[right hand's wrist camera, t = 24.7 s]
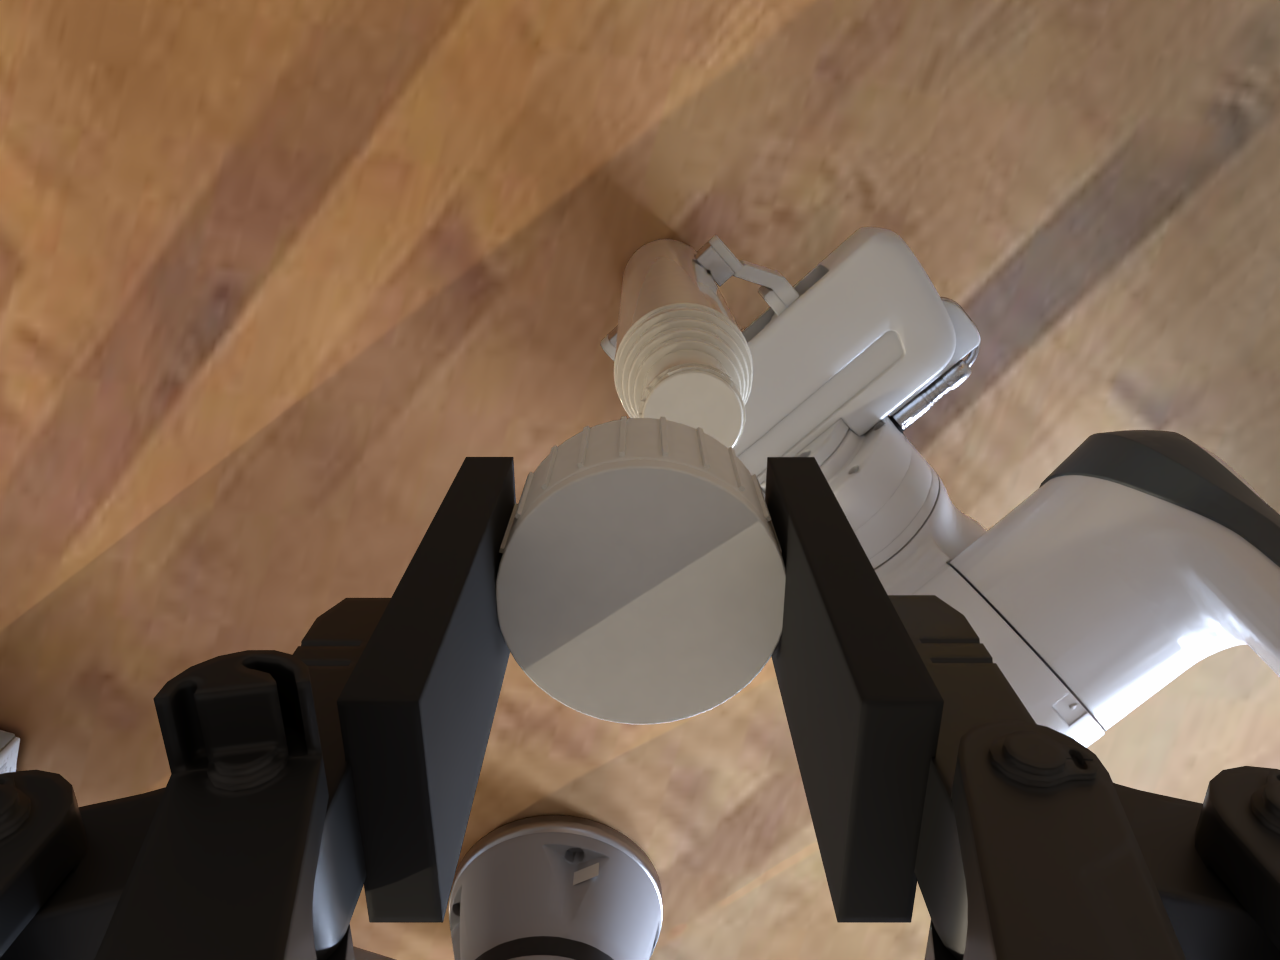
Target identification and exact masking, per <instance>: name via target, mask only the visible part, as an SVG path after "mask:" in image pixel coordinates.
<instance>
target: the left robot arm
mask: <svg viewBox="0 0 1280 960" xmlns="http://www.w3.org/2000/svg"><path fill="white" fill-rule="evenodd" d="M694 257H695V259H696V260H697V261H698V262H699V264H700V265H701V266H702V267H704V268H705V269H706V270H708V271H709V273H710V275H711V276H712V278H713V280H714V281H715V282H716V283H717V284H718V285H719V286H721V285H722V284H723V283H724V282H726V281H727V280H728V279H729V278H730V277H731V276H732V275H733V276H735V277H738V278H741V279H744V280H747V281H750V282H753V283H756V284H759V285H762V286H761V287H760V288H759V291H758V292H759V294H760V295H761V296H762V297H763V299H764V300H765V301H766V302H767V303H768V305H769V306H770V307H769V308H768V309H767V310H766V311H765V312H764V313H762V314H761V315H760V316H759V317H758V318H757V319H756V320H755V321H753V322H752V323H751V324H750V325H749V326H748V327H747V328H746V329H744V330H743V331H742V333H743V335H744V337H745V339H746V341H747V343H748V346H749V348H750V352H751V356H752V363H753V377H752V386H751V391H750V394H749V398H748V400H747V402H746V404H745V414H746V420H745V425H744V430H743V433H742V435H741V437H740V439H739V441H738V443H737V445H735V446H734V448H733V449H734V451H735V454H736V456H737V457H738V458H739V459H740V460H741V462H742V463H743V464H744V465H745V467H746V468H747V469H748V470H749V472H750V473H751V475H754V474H755V475H756V476H757V478H758V481H759V484H760V487H761V490H762V493H763V496H764V499H765V490H766V472H767V457H815V459H816V461H817V463H818V465H819V467H820V469H821V470H822V472H823V474H824V476H825V478H826V480H827V482H828V484H829V485H830V487H831V489H832V491H833V493H834V495H835V497H836V499H837V501H838V502H839V504H840V506H841V508H842V510H843V512H844V514H845V516H846V518H847V519H848V521H849V523H850V525H851V527H852V529H853V531H854V533H855V534H856V536H857V538H858V540H859V542H860V544H861V546H862V548H863V550H864V551H865V553H866V555H867V557H868V559H869V561H870V563H871V565H872V566H873V568H874V570H875V572H876V574H877V576H878V578H879V580H880V582H881V583H882V585H883V587H884V589H885V591H886V593H887V595H935V596H937V597H938V598H940V599H941V600H943V601H944V602H946V603H947V604H948V605H950V606H951V607H953V608H954V609H956V610H957V611H959V612H960V613H961V614H963V615H964V616H965V617H966V619H967V620H968V622H969V623H970V625H971V626H972V628H973V629H974V631H975V632H976V634H977V635H978V637H979V638H980V643H983V644H984V646H985V647H986V649H987V650H988V652H989V653H990V655H991V656H992V658H993V663H996V664H997V665H998V667H999V668H1000V670H1001V671H1002V673H1003V674H1004V676H1005V677H1006V679H1007V680H1008V682H1009V683H1010V685H1011V686H1012V688H1013V689H1014V691H1015V692H1016V694H1017V695H1018V697H1019V698H1020V700H1021V701H1022V703H1023V704H1024V706H1025V707H1026V709H1027V710H1028V712H1029V713H1030V715H1031V716H1032V718H1033V719H1034V721H1035V722H1036V724H1037V725H1042V726H1046V727H1049V728H1051V729H1053V730H1056V731H1058V732H1060V733H1062V734H1065V735H1067V736H1069V737H1071V738H1074V739H1075V740H1076V741H1078V742H1079V743H1080V744H1082V745H1083V746H1085V747H1086V748H1087V747H1088V746H1090V745H1091V744H1092V743H1093V742H1095V741H1096V740H1097V739H1099V738H1100V737H1101V736H1103V735H1104V734H1105V733H1104V731H1103V730H1105V731H1106V730H1107V729H1109V728H1110V727H1111V726H1113V725H1114V724H1115V723H1117V722H1118V721H1119V720H1121V719H1122V718H1123V717H1125V716H1126V715H1127V714H1129V713H1130V712H1131V711H1132V710H1134V709H1135V708H1136V707H1138V706H1139V705H1140V704H1142V703H1143V702H1144V701H1146V700H1147V699H1148V698H1150V697H1151V696H1152V695H1154V694H1155V693H1156V692H1158V691H1159V690H1160V689H1162V688H1163V687H1164V686H1166V685H1167V684H1168V683H1170V682H1171V681H1172V680H1174V679H1175V678H1176V677H1178V676H1179V675H1180V674H1182V673H1183V672H1184V671H1186V670H1187V669H1188V668H1190V667H1191V666H1193V665H1194V664H1196V663H1197V662H1199V661H1200V660H1202V659H1204V658H1206V657H1208V656H1210V655H1212V654H1214V653H1216V652H1219V651H1221V650H1224V649H1227V648H1230V647H1233V646H1237V645H1243V644H1248V645H1249V646H1250V647H1251V648H1252V649H1253V650H1254V651H1255V652H1256V653H1257V654H1258V656H1259V657H1260V658H1261V659H1262V660H1263V661H1264V662H1265V663H1266V664H1267V665H1268V666H1269V667H1270V668H1271V669H1272V670H1273V671H1274V672H1275V673H1276V674H1277V675H1278V676H1279V677H1280V515H1279V514H1278V513H1277V512H1276V511H1275V510H1273V509H1272V508H1271V507H1270V506H1269V505H1268V504H1267V503H1265V501H1264V500H1263V499H1262V498H1261V497H1260V495H1259V494H1258V493H1257V492H1256V491H1255V490H1254V489H1253V488H1252V487H1251V486H1250V484H1249V483H1248V482H1247V481H1246V480H1245V479H1244V478H1243V477H1242V476H1240V475H1239V474H1238V473H1237V472H1236V471H1235V470H1234V469H1233V468H1231V467H1230V466H1229V465H1228V464H1227V463H1225V462H1224V461H1223V460H1222V459H1220V458H1219V457H1217V456H1216V455H1214V454H1213V453H1211V452H1210V451H1208V450H1207V449H1205V448H1203V447H1201V446H1200V445H1198V444H1196V443H1194V442H1192V441H1191V440H1189V439H1188V438H1186V437H1184V436H1182V435H1180V434H1178V433H1175V432H1168V431H1154V430H1132V431H1115V432H1106V433H1097V434H1093V435H1091V436H1089V437H1088V438H1087V439H1086V440H1085V441H1084V442H1083V443H1082V444H1081V445H1080V446H1079V447H1078V448H1077V449H1076V450H1075V451H1074V452H1073V453H1072V454H1071V455H1070V456H1069V457H1068V458H1067V459H1066V460H1065V461H1064V462H1063V463H1062V464H1061V465H1060V466H1059V467H1057V468H1056V469H1055V470H1054V471H1053V472H1052V473H1051V474H1050V475H1049V476H1048V477H1047V478H1046V479H1045V480H1044V481H1043V482H1042V483H1041V485H1040V487H1039V489H1038V490H1036V491H1035V492H1034V493H1033V494H1032V495H1030V496H1029V497H1028V498H1027V499H1025V500H1024V501H1023V502H1022V503H1021V504H1019V505H1018V506H1017V507H1016V508H1015V509H1013V510H1012V511H1011V512H1010V513H1008V514H1007V515H1006V516H1005V517H1004V518H1002V519H1001V520H1000V521H999V522H998V523H996V524H995V525H994V526H993V527H992V528H990V529H989V530H988V531H986V530H985V529H984V528H983V527H982V526H981V525H980V524H979V523H978V522H976V521H975V520H974V519H972V518H970V517H969V516H967V515H965V514H964V513H962V512H961V511H959V510H958V509H957V508H956V507H955V506H954V505H953V503H952V502H951V500H950V498H949V496H948V494H947V491H946V488H945V486H944V484H943V482H942V480H941V478H940V477H939V475H938V474H937V473H936V472H935V471H934V469H933V468H932V467H931V466H930V465H929V464H928V462H927V461H926V460H925V459H924V458H923V457H922V455H921V454H920V453H919V452H918V451H917V450H916V448H915V447H914V446H913V445H912V444H911V443H910V441H909V440H908V439H907V438H906V437H905V436H904V435H903V431H904V430H905V429H906V428H908V427H909V426H910V425H911V424H913V423H914V422H915V421H916V420H917V419H918V418H920V417H921V416H922V415H923V414H925V413H926V412H927V411H928V410H929V409H930V408H931V407H932V406H933V405H934V404H935V403H936V402H937V401H938V400H939V399H940V398H942V397H943V395H945V394H947V393H948V392H949V391H950V390H954V389H956V388H957V387H958V386H960V385H961V384H962V383H963V382H964V381H965V380H966V379H967V378H968V377H969V376H970V374H971V373H972V371H971V369H970V366H971V365H972V364H973V363H974V361H975V360H976V358H977V356H978V353H979V350H980V341H981V340H980V334H979V331H978V329H977V327H976V325H975V324H974V322H973V321H972V320H971V319H970V317H969V316H968V315H967V314H966V312H965V311H964V310H963V308H962V307H961V306H960V305H959V304H958V303H957V302H955V301H953V300H951V299H949V298H945V297H940V296H939V294H938V292H937V290H936V289H935V287H934V285H933V283H932V282H931V280H930V278H929V277H928V275H927V273H926V272H925V270H924V268H923V267H922V265H921V264H920V262H919V261H918V259H917V258H916V256H915V255H914V253H913V252H912V251H911V249H910V248H909V246H908V245H907V244H906V242H905V241H904V240H903V239H902V238H901V237H900V236H899V235H898V234H896V233H895V232H893V231H891V230H888V229H884V228H877V227H862V228H859V229H858V230H857V231H855V232H854V233H853V234H852V235H851V236H850V237H849V238H847V239H846V240H845V241H844V242H843V243H842V244H841V245H839V246H838V247H837V248H836V249H835V250H834V251H833V252H832V253H830V254H829V255H828V256H827V257H826V258H825V259H824V260H822V261H821V262H820V263H819V264H818V265H817V266H816V267H815V268H813V269H812V270H811V271H810V272H809V273H808V274H807V275H805V276H804V277H803V278H802V279H801V280H800V281H799V282H798V283H796V284H795V285H794V286H793V287H792V286H791V284H790V283H789V282H788V281H787V280H786V279H785V277H784V276H782V275H781V274H780V273H779V272H778V271H776V270H773V269H770V268H767V267H764V266H760V265H757V264H754V263H751V262H748V261H745V260H742V259H741V260H740V261H739V260H738V259H737V258H736V257H735V256H734V254H733V253H732V252H731V251H730V250H729V249H728V247H727V246H726V245H725V244H724V243H723V242H722V240H721V239H720V238H719V237H718V236H717V235H715V236H713V237H712V238H711V239H710V240H709V241H708V242H707V243H706V244H705V245H704V246H703V247H702V248H701V249H700V250H699V251H698V252H697V253H695V254H694ZM617 331H618V326H617V327H615V328H614V329H613V330H612V331H611V332H610V333H609V334H607V335H606V336H605V337H604V338H603V339H602V340H601V347H602V348H603V350H604V351H605V352H606V353H607V355H608V356H609V357H610V358H611V359H612V360H613V361H614V360H615V350H616V341H617ZM968 353H969V355H968V357H967V358H966V360H965V361H962V360H961V359H962V358H963V357H965V356H966V355H967V354H968ZM888 414H889V415H890V416H891V417H890V416H887V415H888ZM1102 729H1103V730H1102Z"/></svg>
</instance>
